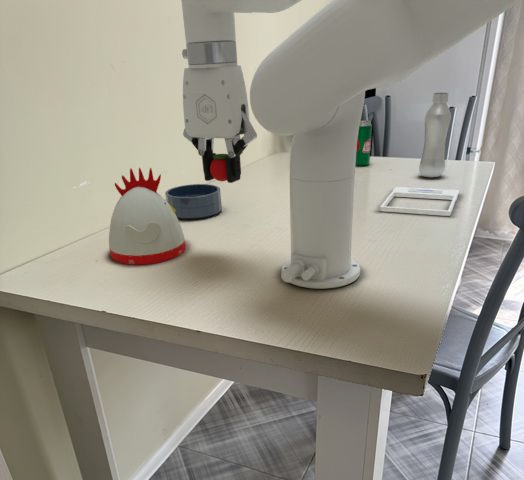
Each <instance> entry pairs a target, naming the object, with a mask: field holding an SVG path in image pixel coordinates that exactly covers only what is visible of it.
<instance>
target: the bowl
mask: <svg viewBox="0 0 524 480" xmlns="http://www.w3.org/2000/svg"><path fill="white" fill-rule="evenodd" d="M221 193H222V192H221V188H220V186H218V185H215V184H208V183H194V184H192V183H191V184H184V185H179V186H174V187H172V188H169V189H167V190H166V191H165V193H164V196H165V200H166V201H167V202H168V204H169V205H170V206H171V207H173V208H174V209H175V210H176V211H175V214H176V217H177V219H182V220H199V219H205V218H206V219H207V218H209V217H213V216H215V215H216V214H217V213H220V212H221V211H222V210H223V209H222V208H223V207H222V206H223V205H222V195H221Z"/></svg>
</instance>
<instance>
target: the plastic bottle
mask: <svg viewBox="0 0 524 480" xmlns="http://www.w3.org/2000/svg"><path fill="white" fill-rule="evenodd" d="M431 102H432V104H431V106H430V107H429V108H428V110H427V111H426V112H425V115H424V141H423V142H424V143H423V149H422V154H421V159H420V161H419V166H418V169H419V170H418V171H419V174H420V176H422V177H424V178H429V179H431V178H437V177H441V176H442V175H443V174H444V172H445V168H446V160H445V159H446V158H445V156H446V155H445V154H446V142H447V137H448V131H449V127H450V124H451V120H452V113H451V110H450V107H449V106H448V104H447V103H448V102H449V92H435V93H434V92H433V94H432V99H431Z"/></svg>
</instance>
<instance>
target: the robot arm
mask: <svg viewBox="0 0 524 480" xmlns="http://www.w3.org/2000/svg"><path fill="white" fill-rule="evenodd" d="M301 1H302V0H181V9H182V10H181V11H182V18H183V19H182V20H183V28H184V36H185V37H184V38H185V47H186V48H183V49H182V51H181V55H182V58H183V59H184V60H187V66H188V67H184V69H183V77H182V78H183V79H182V106H183V107H182V108H183V110H182V111H183V120H184V121H183V122H184V129H183V132H182V134H183V135H182V136H183V137H184V138H185V139H186V140H188V141H189V142H190V143H191V144H192V145H193V147H194V148H195V149H196V150H197V154H198V155H199V156H200V157H201V161H202V162H201V163H202V169H203V170H202V171H203V176H204V181H205V182H210V181H212V180H214V179H215V178H214V177H213V176H212V175H211V172H210V165H211V162H212V161H213V160H214V158H213V155H216V154H217V153H216V152H214V144H215V143H214V141H215V139H224V141H225V142H224V143H225V147H226V152H227V154H228V156H229V157H227V158H226V172H227V180H226V182H227V183H229V184H233V183H235V182H238V181H239V180H241V175H242V166H241V163H242V162H241V156H242V155H243V154H244V151H245V149H246V148H247V147H248V146H249V145H250V144H251V143H252V142H253V141H255V140H256V139H257V137H258V134H257V132H256V129H255V128H254V126H253V125H252V122H251V121H250V111H249V103H250V108H251V111H252V114H253V116H254V119H255V120H256V121H257V122H258V124H259V125H260V126H261V127H262V128H263V129H264V130H266V131H267V132H269V133H271V134H274V135H276V136H281V137H291V136H293V138H292V141H291V147H290V155H289V223H290V225H289V226H290V227H289V228H290V229H289V230H290V259H288V260H286V261H285V262H284V263H283V264H282V265H281V273H280V277H281V280H282V281H283V282H285V283H289V284H292V285H294V286H297V287H301V288H307V289H317V290H319V289H322V290H324V289H325V290H326V289H335V288H340V287H344V286H347V285H350V284H351V283H353V282H355V281H356V280H358V279H359V277H360V275H361V266H360V264H359V263H358V261H356V260H354V259H353V258H352V239H353V219H354V218H353V217H354V199H355V198H354V197H355V179H356V177H355V176H356V166H355V164H356V149H357V139H358V132H359V126H360V121H362V115H363V111H364V106H365V97H366V91H368V90H373V89H379V88H383V87H387V86H391V85H394V84H397V83H399V82H401V81H403V80H405V79H406V78H407V77H409V76H410V75H412V74H413V73H415V72H416V71H418V69H420V68H422V67H423V66H424V65H426V64H428V63H430V61H432V60H434V59H435V58H438V57H439V56H440V55H442V54H443V53H444V52H446V51H448V50H449V49H451V48H453V47H454V46H455V45H457V44H458V43H461V41H463V40H464V39H465V38H467V37H468V36H470V35H471V34H473V33H474V32H476V31H477V30H479V29H481V28H482V27H483V26H485V25H487V24H488V23H490V22H491V21H493V20H494V19H496V18H497V17H499V16H500V15H502V14H503V13H505V12H507V10H509V9H510V8H512V7H514V6H515V5H516V4H517V3H518V2H520V1H521V0H332V1H330V2H328V3H327V4H326V5H325V6H323V7H322V8H321V9H320V10H319V11H317V12H316V13H315V14H313V15H312V16H311V17H310V18H308V20H307V21H305V22H304V23H303V24H302V25H300V27H298V28H297V29H296V30H295V31H294V32H292V33H291V34H290V35H289V36H288V37H286V39H284V40H283V41H282V42H281V43H280V44H279V45H278V46H276V47H275V48H274V49H273V50H272V51H270V52H269V53H268V54H267V56H265V58H264V59H263V60H262V61H261V62H260V63H259V64H258V67H257V68H256V70H255V72H254V75H253V77H252V80H251V84H250V88H249V89H250V90H249V101H248V94H247V86H246V82H245V78H244V73H243V69H242V66H241V65H239V64H238V51H237V41H236V40H237V36H236V35H237V34H236V21H235V20H236V19H235V13H236V14H252V13H254V14H257V13H262V14H276V13H280V12H283V11H285V10H288V9H291V8H293V6H295V5H297V4H298V3H300V2H301ZM241 135H243V136H242V137H241ZM215 180H216V179H215Z"/></svg>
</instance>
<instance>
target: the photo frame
mask: <svg viewBox="0 0 524 480" xmlns="http://www.w3.org/2000/svg"><path fill="white" fill-rule="evenodd" d="M459 195H460V190H459V189H445V188H444V189H442V188H427V187H425V188H424V187H409V186H407V187H406V186H395V187H394V189H393V190H392V191H391V192H390V194H388V196H387V197H386V199H384V201H383V202H382V203H381V204H380V206H379V212H389V213H399V214H401V213H402V214H415V215H416V214H417V215H429V216H443V217H444V216H445V217H451V216H452V212H453V210H454V207H455V204H456V202H457V200H458V197H459ZM394 197H398V198H399V197H401V198H415V199H431V200H446V201H447V200H449V201H451V202H450V204H449V206H448V209H447V210H445V209H431V208H430V209H429V208H417V207H404V206H403V207H402V206H388V205H389V204H390V203H391V201H392V200H393V198H394Z"/></svg>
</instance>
